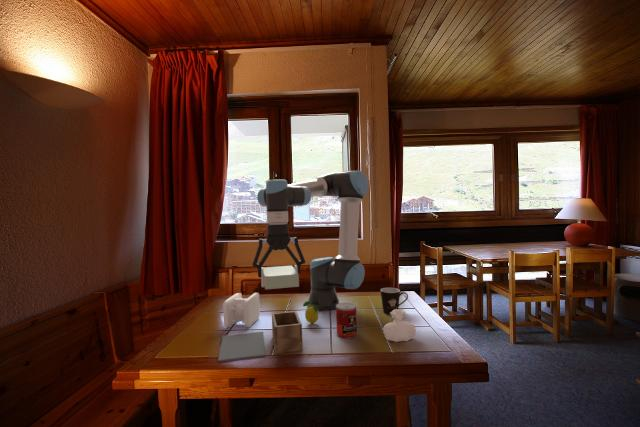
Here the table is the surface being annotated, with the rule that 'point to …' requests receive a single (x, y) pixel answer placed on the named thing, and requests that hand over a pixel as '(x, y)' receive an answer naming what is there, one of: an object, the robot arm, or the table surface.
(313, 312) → the lemon
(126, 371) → the table surface
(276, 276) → the lid
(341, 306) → the canned food
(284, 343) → the box
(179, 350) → the table surface
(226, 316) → the cable organizer
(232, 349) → the mat
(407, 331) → the bust
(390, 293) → the coffee mug
